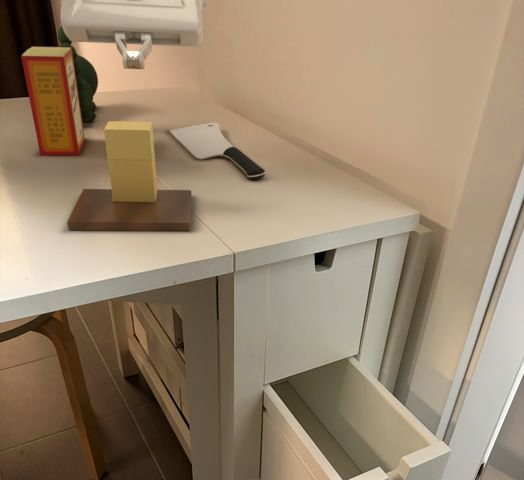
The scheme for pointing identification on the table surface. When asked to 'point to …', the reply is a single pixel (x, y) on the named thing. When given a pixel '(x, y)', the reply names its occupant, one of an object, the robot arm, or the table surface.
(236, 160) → the kitchen cleaver
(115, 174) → the base
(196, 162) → the table surface
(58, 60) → the baking soda box
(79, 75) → the toy figurine
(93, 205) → the butter board
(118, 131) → the block
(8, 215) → the table surface
